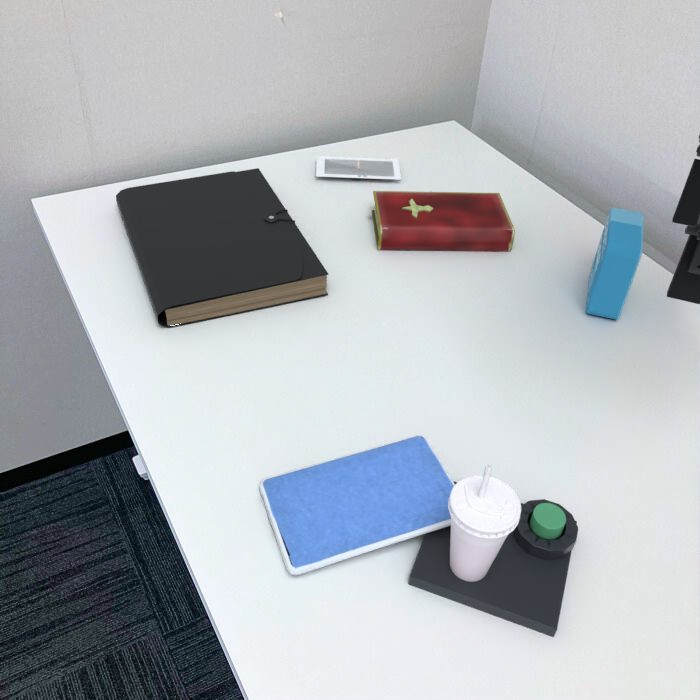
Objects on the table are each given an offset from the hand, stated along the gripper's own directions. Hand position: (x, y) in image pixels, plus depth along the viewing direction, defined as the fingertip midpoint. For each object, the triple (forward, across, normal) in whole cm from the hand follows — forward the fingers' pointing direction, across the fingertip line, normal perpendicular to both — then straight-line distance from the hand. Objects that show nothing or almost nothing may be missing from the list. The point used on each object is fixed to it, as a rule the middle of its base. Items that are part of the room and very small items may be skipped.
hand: (684, 258), depth 69 cm
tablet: (+26, +19, -24) cm, 40 cm away
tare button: (+24, +16, -5) cm, 29 cm away
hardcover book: (+26, -38, -31) cm, 55 cm away
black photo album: (+26, -18, -61) cm, 68 cm away
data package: (+26, -31, -4) cm, 41 cm away
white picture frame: (+26, -51, -50) cm, 76 cm away
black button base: (+26, +19, -10) cm, 34 cm away
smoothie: (+25, +22, -12) cm, 35 cm away
